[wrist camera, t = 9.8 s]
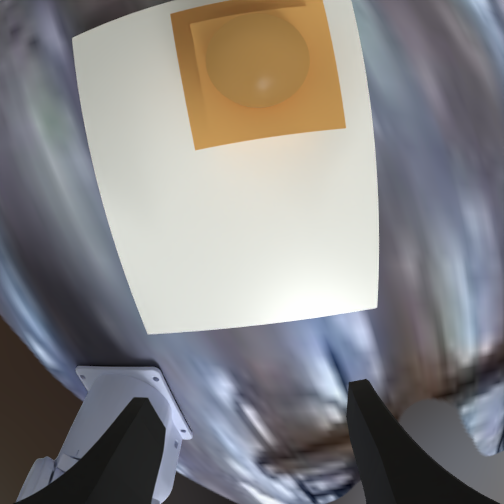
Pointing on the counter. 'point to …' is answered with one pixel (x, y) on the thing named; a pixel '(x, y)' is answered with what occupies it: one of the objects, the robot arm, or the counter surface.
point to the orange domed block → (257, 70)
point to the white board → (227, 188)
